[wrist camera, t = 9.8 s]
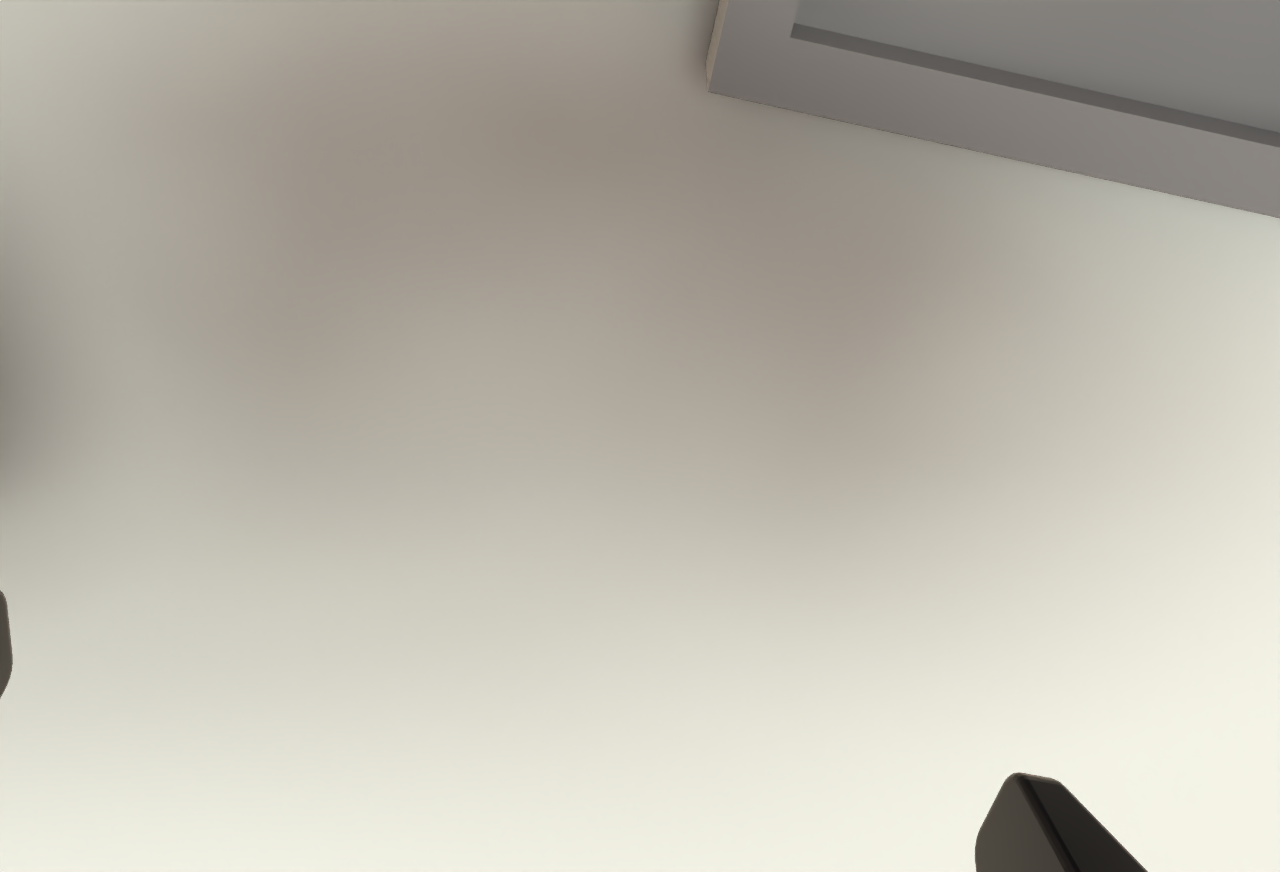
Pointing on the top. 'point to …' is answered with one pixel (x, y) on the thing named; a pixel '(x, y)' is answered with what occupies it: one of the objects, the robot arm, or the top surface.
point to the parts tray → (1033, 82)
